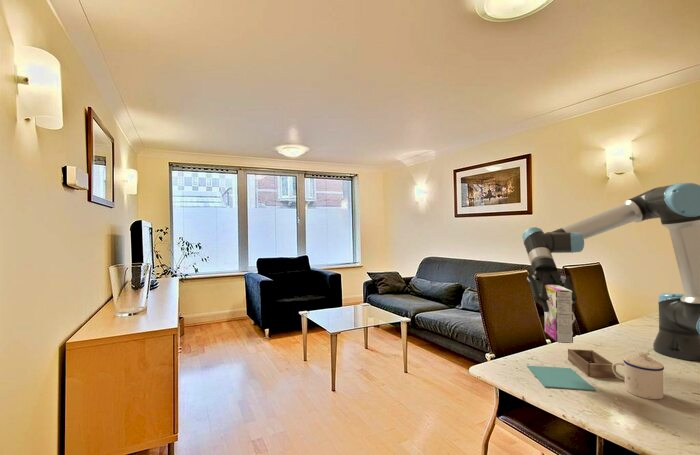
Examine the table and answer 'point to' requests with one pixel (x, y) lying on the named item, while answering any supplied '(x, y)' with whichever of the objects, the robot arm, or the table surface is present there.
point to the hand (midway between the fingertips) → (562, 320)
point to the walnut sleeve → (596, 368)
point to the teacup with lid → (642, 376)
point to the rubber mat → (560, 378)
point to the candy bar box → (560, 314)
